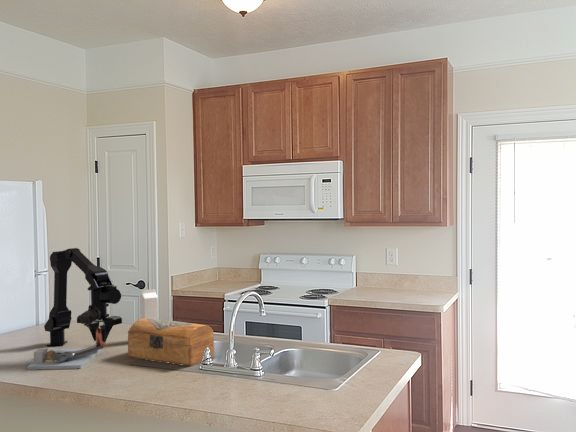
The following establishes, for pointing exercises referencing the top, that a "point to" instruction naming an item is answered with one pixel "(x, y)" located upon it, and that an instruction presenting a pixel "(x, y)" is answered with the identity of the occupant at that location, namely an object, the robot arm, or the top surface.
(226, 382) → the top surface
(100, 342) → the lever
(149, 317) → the milk
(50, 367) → the blue-grey rectangular board
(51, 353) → the nut
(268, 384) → the top surface
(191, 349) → the wooden box
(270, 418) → the top surface
